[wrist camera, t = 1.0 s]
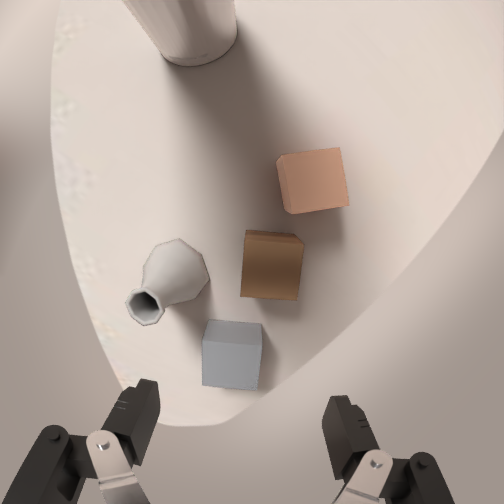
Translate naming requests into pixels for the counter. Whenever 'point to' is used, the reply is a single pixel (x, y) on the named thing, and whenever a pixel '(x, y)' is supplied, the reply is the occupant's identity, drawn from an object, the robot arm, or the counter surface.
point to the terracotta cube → (312, 180)
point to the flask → (167, 281)
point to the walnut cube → (271, 265)
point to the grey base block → (231, 354)
